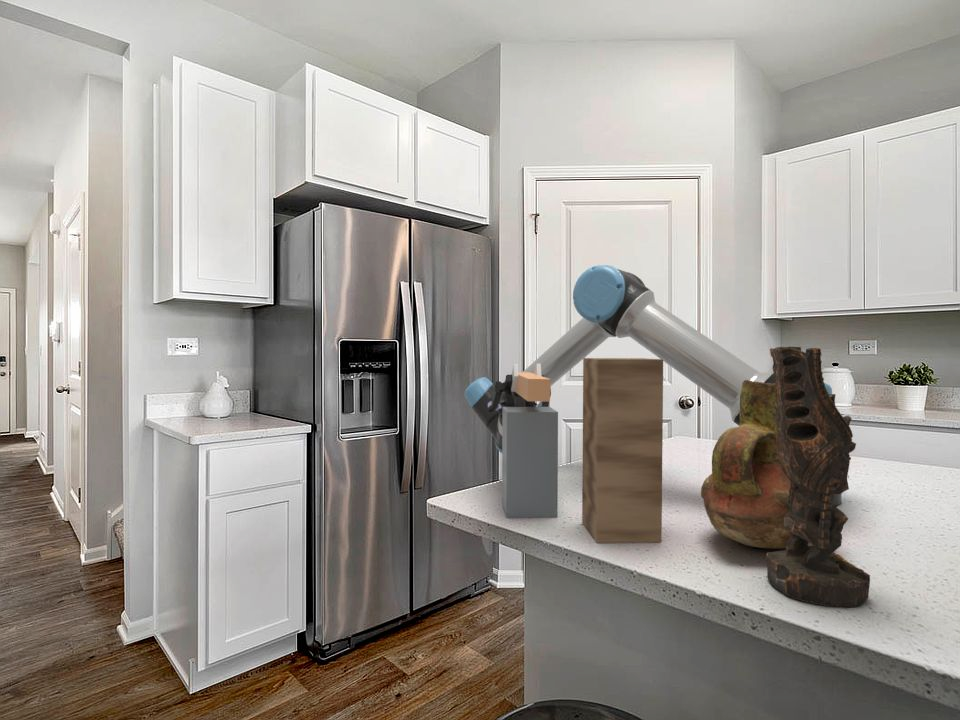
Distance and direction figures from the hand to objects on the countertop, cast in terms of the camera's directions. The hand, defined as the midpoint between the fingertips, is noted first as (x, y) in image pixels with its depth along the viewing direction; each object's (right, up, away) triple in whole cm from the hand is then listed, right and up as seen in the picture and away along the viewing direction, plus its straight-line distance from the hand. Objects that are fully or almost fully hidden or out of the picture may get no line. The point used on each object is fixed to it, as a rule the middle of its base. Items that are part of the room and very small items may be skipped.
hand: (527, 369), depth 106 cm
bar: (0, -4, -2) cm, 5 cm away
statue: (+32, -27, -36) cm, 55 cm away
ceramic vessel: (+35, -26, -19) cm, 48 cm away
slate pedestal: (0, -26, -2) cm, 26 cm away
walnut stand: (+14, -26, -14) cm, 33 cm away
